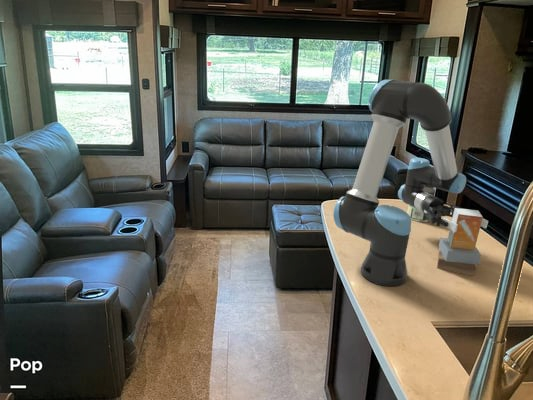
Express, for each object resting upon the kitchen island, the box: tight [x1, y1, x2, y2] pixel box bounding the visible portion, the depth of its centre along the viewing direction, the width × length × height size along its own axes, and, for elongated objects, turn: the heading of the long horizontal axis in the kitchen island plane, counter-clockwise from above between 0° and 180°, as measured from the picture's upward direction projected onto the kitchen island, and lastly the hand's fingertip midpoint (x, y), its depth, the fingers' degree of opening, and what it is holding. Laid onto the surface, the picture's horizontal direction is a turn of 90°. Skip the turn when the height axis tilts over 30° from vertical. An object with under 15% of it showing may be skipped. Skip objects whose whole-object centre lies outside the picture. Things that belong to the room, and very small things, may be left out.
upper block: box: [438, 237, 482, 266], centre depth 151 cm, size 11×11×4 cm
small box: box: [447, 207, 484, 251], centre depth 148 cm, size 8×6×13 cm
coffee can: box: [406, 185, 436, 223], centre depth 192 cm, size 10×10×14 cm
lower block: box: [436, 249, 477, 277], centre depth 152 cm, size 12×12×4 cm
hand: (471, 226), depth 144 cm, fingers open, 13 cm apart
